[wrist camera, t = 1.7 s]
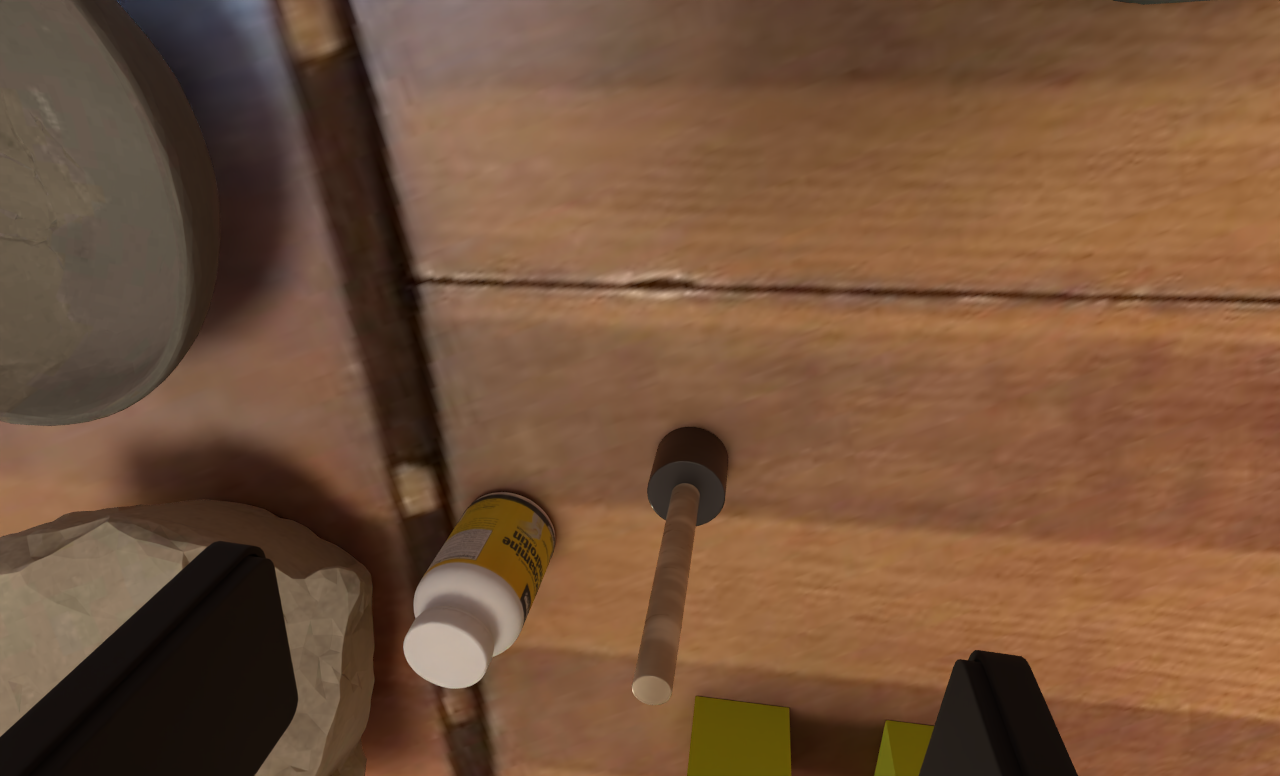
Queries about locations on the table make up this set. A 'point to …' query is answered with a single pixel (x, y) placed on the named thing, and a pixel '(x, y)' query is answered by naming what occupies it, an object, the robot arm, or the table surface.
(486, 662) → the pill bottle
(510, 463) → the table surface
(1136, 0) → the jar
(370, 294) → the table surface
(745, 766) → the decorative object
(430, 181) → the table surface
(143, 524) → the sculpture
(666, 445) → the scrub brush
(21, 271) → the bowl
